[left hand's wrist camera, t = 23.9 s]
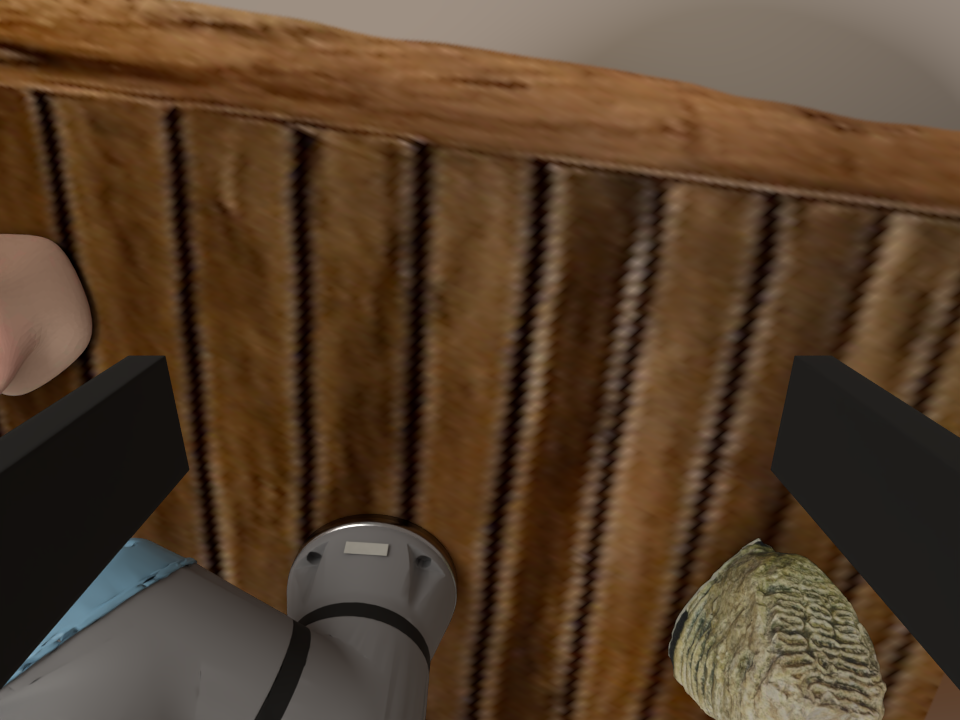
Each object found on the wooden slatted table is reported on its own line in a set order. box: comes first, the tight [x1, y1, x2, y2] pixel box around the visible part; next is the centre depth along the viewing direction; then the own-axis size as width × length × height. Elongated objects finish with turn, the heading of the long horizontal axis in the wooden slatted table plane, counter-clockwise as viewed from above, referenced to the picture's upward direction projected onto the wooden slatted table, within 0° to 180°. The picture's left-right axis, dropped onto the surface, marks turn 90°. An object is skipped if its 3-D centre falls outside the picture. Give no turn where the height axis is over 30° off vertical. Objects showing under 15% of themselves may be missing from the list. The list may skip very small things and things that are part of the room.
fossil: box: [669, 538, 887, 720], centre depth 48 cm, size 9×18×15 cm, turn 168°
